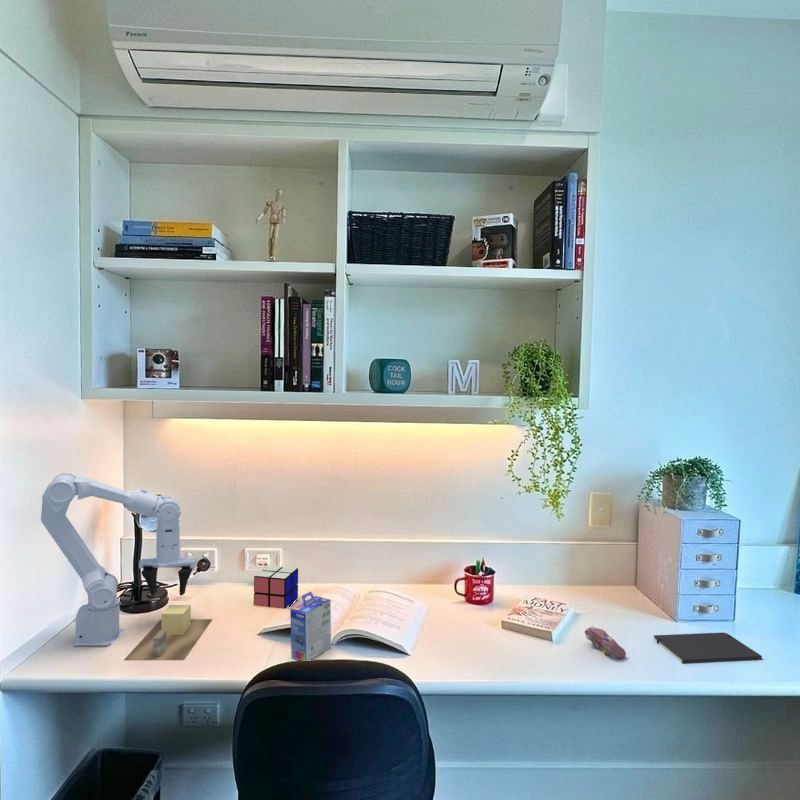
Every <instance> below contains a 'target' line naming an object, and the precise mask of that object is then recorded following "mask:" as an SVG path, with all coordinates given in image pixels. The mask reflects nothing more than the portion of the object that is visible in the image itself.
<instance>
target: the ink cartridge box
mask: <svg viewBox="0 0 800 800" xmlns="http://www.w3.org/2000/svg"><path fill="white" fill-rule="evenodd" d="M307 597H310V598H308V599H307V600H306V598H307ZM301 599H302V601H303V602H302V603H300V604H298V605H296V606H295V607H292V608H291V609H290V608H289V610H290V611H289V612H290V613H289V615H290V650H291V652H290V653H291V659H294V660H296V661H299V660H310V661H312V660H314V659H315V658H316V657H318V656H320V654H322V653H324V652H326V651H327V650H328V649H330V648H331V646H332V626H331V625H332V621H331V620H332V617H331V616H332V612H331V609H332V608H331V603H332V602H331V599H329V598H324V597H321V596H318V595H313V592H312V591H309V592H306V593H304V594H302V595H301ZM311 659H312V660H311Z"/></svg>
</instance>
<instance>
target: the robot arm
mask: <svg viewBox="0 0 800 800" xmlns="http://www.w3.org/2000/svg"><path fill="white" fill-rule="evenodd" d="M45 488H46V489H45V490H44V492H43V494H42V496H41V501H42V502H41V513H40V522H41V524H42V525H43V527H44V528H45V529H46V530H47V532H48V533H49V535H50V536H51V538H52V539H53V541H54V542H55V543H56V545H57V547H58V548H59V549H60V551H61V552H62V553H63V555H64V557H65V558H66V559H67V561H68V562H69V564H70V565H71V566H72V568H73V569H74V571H75V572H76V574H77V575H78V576H79V578H80V579H81V583H82V587H83V588H84V590H85V592H86V594H87V600H88V601H87V602H88V603H87V604H82V605H81V606H80V607H79V608H78V610H77V612H76V616H75V642H74V643H73V645H74V647H77V646H78V647H79V646H81V647H85V646H86V647H87V646H88V647H89V646H92V647H94V646H95V647H97V646H98V647H100V646H101V647H103V646H105V647H108V646H109V647H110V646H111V645H113V644H114V643H115V642H116V641H117V640H118V639H119V638H120V637H121V635H123V634H124V633H125V632H126V629H120V599H119V598H118V595H117V594H118V593H117V592H118V591H117V590H118V587H119V581H118V578H117V577H116V576H115V575H113V574H111V573H109V572H108V571H107V570H106V568H105V567H104V566H102V565H100V563H99V561H98V560H97V558H95V556H94V555H93V553H92V552H91V550H90V549H89V547H88V546H87V545H86V543H85V541H84V540H83V539H82V536H80V534H79V532H78V531H77V529H76V528H75V527H74V525H73V524H72V522H71V521H70V519H69V518H68V517H67V512H68V510H69V509H68V508H69V506H70V505H71V503H72V501H73V500H74V499H75V497H76V496H77V500H82V499H85V498H89V497H95V498H98V499H102V500H106V501H111V502H115V503H118V504H122V505H124V506H125V508H126V510H127V511H128V512H132V513H136V514H139V515H142V516H146V517H149V518H156V519H157V526H156V533H155V534H156V536H155V537H156V540H155V541H156V557H155V558H154V557H153V558H142V559H140V560H139V561H138V569H142V571H141V576H142V577H143V579H145V580H144V581H145V582H146V584H147V586H148V589H149V593H150V596H155V594H156V593H157V587H158V585H157V584H158V583H157V579H158V569H159V568H160V569H165V568H167V569H168V568H172V569H173V568H176V569H177V568H178V569H179V568H181V569H179V570H178V571H177V575H178V580H179V596H183V595H185V593H186V588H187V586H188V585H187V584H188V581H189V579H190V575H191V573H193V570H194V569H196V567H197V561H198V560H197V559H196V558H186V557H180V539H181V538H180V537H181V536H180V517H181V513H182V512H181V508H180V505H179V503H178V501H177V500H176V499H174V498H173V497H171V496H166V495H163V494H161V495H157V494H154V493H150V492H148V489H146V488H141V490H140V489H134V490H132V491H127V490H124V489H122V488H119V487H115V486H112V485H110V484H106V483H104V482H100V481H98V480H95V479H91V478H88V477H87V476H82V475H74V474H72V473H65V472H63V473H61V474H60V473H59V474H58V475H56V476H55V477H54V478H53V479H52V481H51V482H50V483H49V484H48V485H47V486H46V487H45Z"/></svg>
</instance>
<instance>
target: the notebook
mask: <svg viewBox="0 0 800 800" xmlns="http://www.w3.org/2000/svg"><path fill="white" fill-rule="evenodd" d="M653 638H654V642H656V644H658V645H660V646H661V647H662V648H663V649H665V651H667V652H668V653H669V654H671V656H673V657H674V658H675V659H677V661H679V662H680V663H682V665H683V664H702V663H703V664H706V663H726V662H727V663H729V662H745V661H749V662H750V661H761V660H762V659H763V656H762V655H761V654H759V653H758V652H757V651H755V650H753V649H752V648H750V647H749V646H747V645H746V644H744V643H743V642H741V641H739V640H738V639H737V638H735V637H733V636H732V635H730V634H729V633H727V632H704V633H701V632H700V633H680V634H659V635H658V634H655V635H653Z"/></svg>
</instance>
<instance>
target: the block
mask: <svg viewBox="0 0 800 800" xmlns="http://www.w3.org/2000/svg"><path fill="white" fill-rule="evenodd" d="M191 608H192V607H191V604H169V605H168V606H167V607H166V609H164V611H162V613H161V619H162V631H166V635H183V634H184V633H185V632H186V630H187V629H188V628H189V627H190V620H191V619H192V618H191Z"/></svg>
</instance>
